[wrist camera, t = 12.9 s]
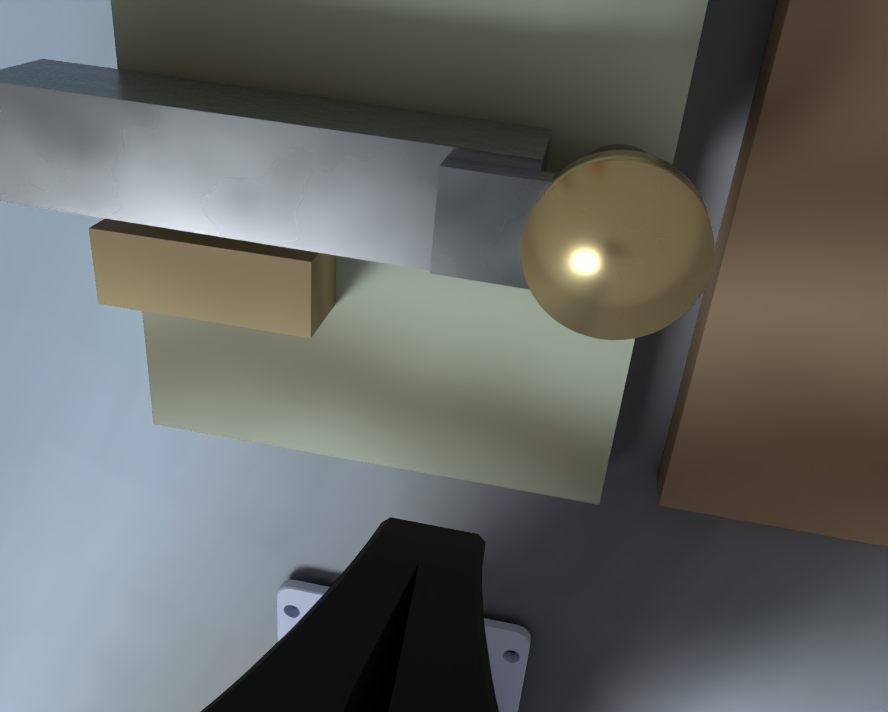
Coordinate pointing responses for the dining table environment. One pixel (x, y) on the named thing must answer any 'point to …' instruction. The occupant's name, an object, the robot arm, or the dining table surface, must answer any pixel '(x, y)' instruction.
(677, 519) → the dining table surface
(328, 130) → the swing bar
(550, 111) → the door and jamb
